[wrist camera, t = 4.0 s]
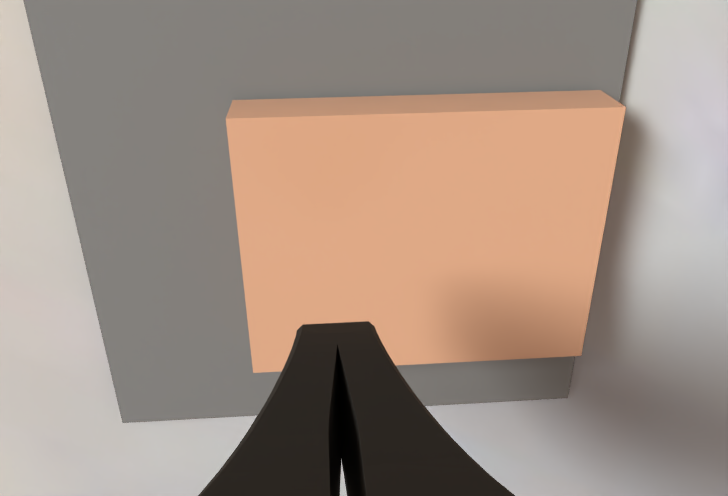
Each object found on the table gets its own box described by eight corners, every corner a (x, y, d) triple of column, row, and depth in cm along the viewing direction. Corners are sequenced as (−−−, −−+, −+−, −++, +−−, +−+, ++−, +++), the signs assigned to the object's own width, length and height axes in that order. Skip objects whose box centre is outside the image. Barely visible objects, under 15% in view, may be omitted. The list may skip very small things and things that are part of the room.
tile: (257, 335, 19) (560, 321, 20) (253, 372, 18) (581, 355, 18) (233, 97, 16) (597, 88, 17) (225, 118, 15) (625, 107, 15)
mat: (564, 391, 22) (567, 398, 21) (125, 416, 21) (122, 422, 20) (639, -45, 15) (644, -44, 15) (21, -36, 15) (15, -35, 14)
